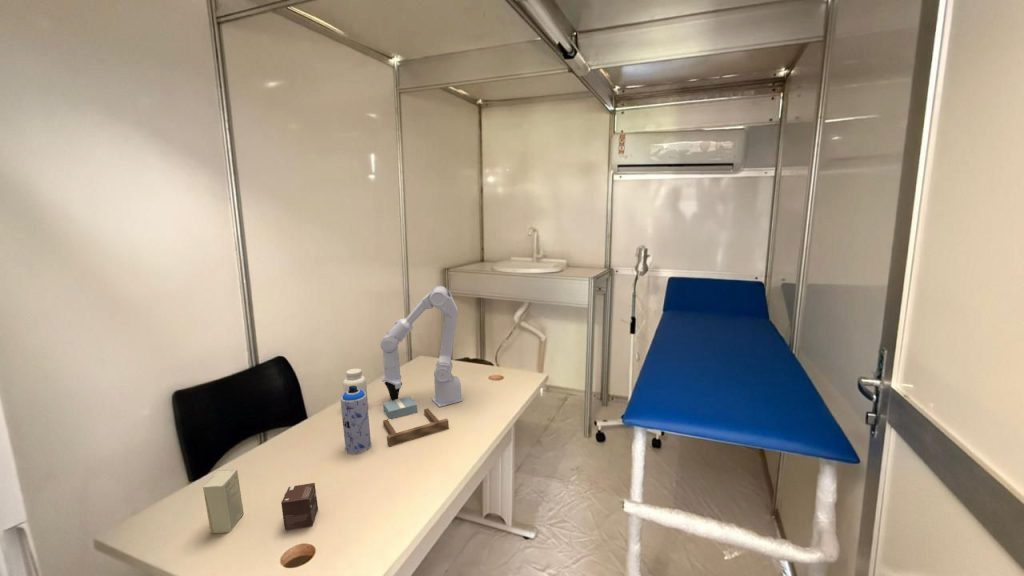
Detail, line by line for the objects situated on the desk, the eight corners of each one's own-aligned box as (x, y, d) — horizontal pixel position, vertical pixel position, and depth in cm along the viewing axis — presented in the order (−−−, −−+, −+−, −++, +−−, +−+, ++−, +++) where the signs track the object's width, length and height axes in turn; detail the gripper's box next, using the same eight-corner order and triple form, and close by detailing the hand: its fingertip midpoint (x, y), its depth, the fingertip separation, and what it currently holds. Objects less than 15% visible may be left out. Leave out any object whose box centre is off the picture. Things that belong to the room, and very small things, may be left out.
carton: (410, 404, 158) (410, 396, 157) (417, 413, 151) (416, 404, 150) (383, 411, 153) (383, 402, 152) (389, 420, 146) (388, 411, 145)
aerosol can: (340, 447, 129) (334, 387, 125) (364, 437, 135) (358, 379, 131) (352, 457, 124) (346, 394, 120) (376, 446, 129) (371, 386, 126)
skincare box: (225, 515, 101) (218, 469, 99) (245, 513, 101) (238, 468, 99) (209, 534, 95) (201, 486, 93) (230, 533, 95) (222, 485, 93)
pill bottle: (372, 404, 158) (368, 367, 155) (362, 414, 150) (358, 375, 147) (351, 403, 159) (348, 366, 156) (341, 414, 151) (337, 374, 148)
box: (312, 526, 97) (308, 498, 95) (284, 531, 95) (280, 502, 94) (318, 508, 102) (315, 482, 101) (292, 513, 101) (288, 485, 100)
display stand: (433, 411, 151) (433, 404, 150) (448, 428, 139) (448, 420, 139) (377, 427, 141) (376, 419, 140) (388, 446, 129) (388, 437, 128)
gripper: (376, 362, 159) (378, 395, 162) (386, 374, 147) (389, 410, 150) (394, 358, 163) (396, 391, 165) (405, 370, 151) (408, 405, 153)
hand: (394, 399), depth 158 cm, fingers closed
